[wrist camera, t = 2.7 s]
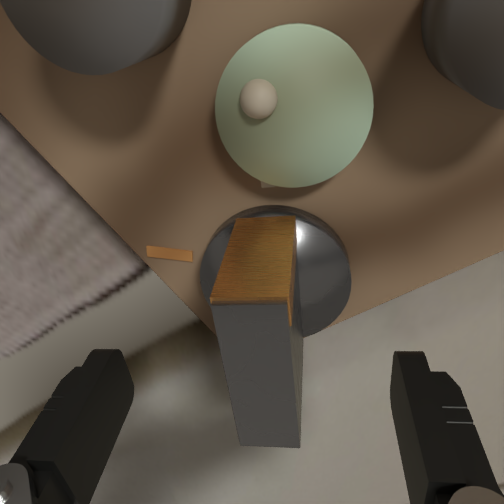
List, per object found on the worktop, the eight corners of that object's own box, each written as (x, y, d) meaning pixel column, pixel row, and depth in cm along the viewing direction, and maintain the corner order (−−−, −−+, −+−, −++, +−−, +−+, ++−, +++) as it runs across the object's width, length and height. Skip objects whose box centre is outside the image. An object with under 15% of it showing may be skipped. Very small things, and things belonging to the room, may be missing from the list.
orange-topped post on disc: (349, 324, 18) (362, 450, 13) (217, 325, 19) (183, 442, 14) (350, 198, 15) (368, 300, 10) (192, 206, 16) (137, 303, 11)
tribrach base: (634, 155, 15) (754, 217, 11) (249, 336, 23) (234, 415, 18) (414, -522, 9) (505, -982, 5) (-28, 36, 16) (-149, 52, 12)
